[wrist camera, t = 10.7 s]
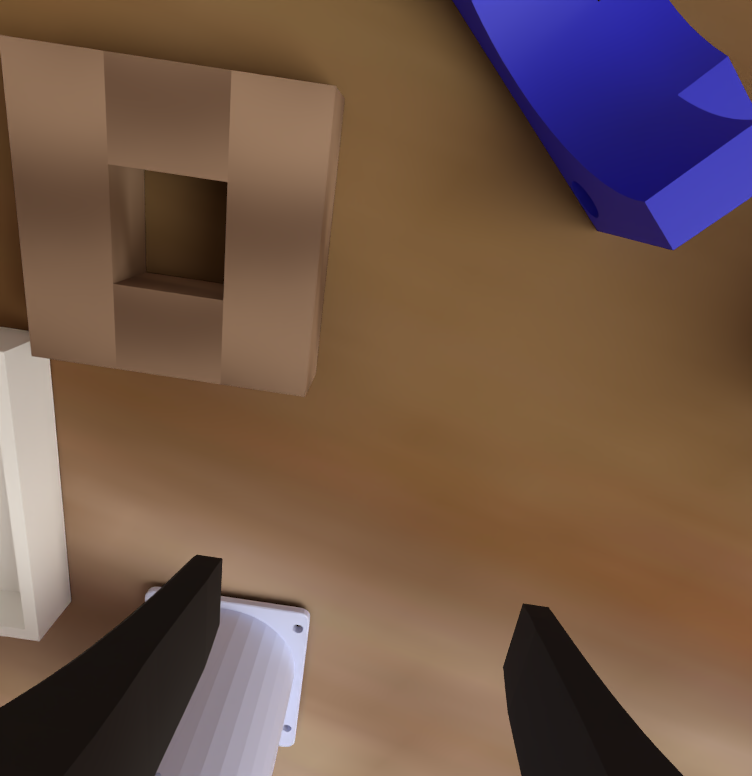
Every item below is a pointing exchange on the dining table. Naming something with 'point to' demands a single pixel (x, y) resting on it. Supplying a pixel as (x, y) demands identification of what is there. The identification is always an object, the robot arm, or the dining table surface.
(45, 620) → the tray
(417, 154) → the dining table surface
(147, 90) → the square hole board
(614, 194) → the cable clip
